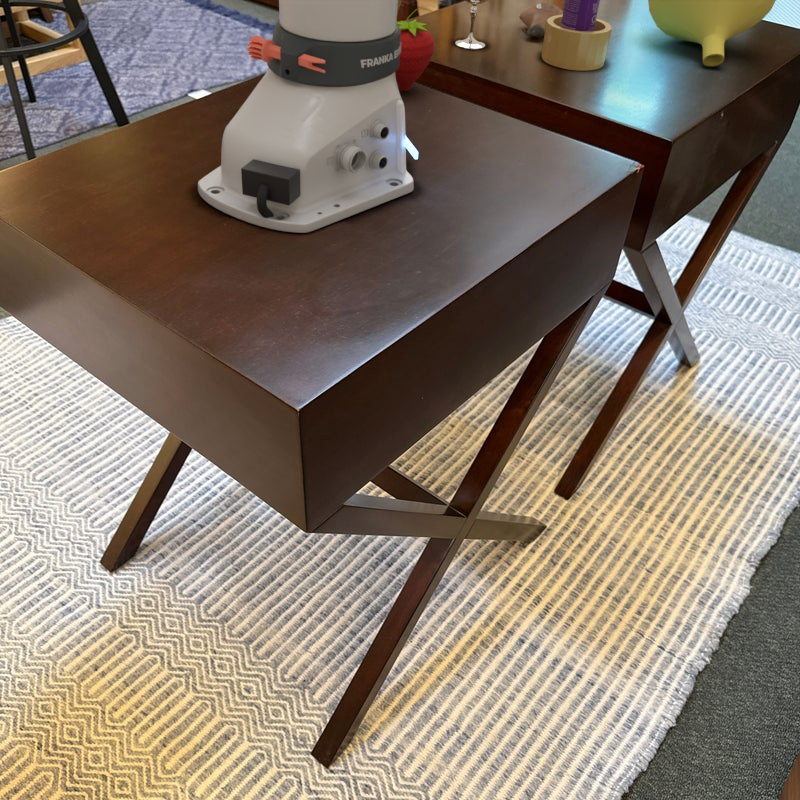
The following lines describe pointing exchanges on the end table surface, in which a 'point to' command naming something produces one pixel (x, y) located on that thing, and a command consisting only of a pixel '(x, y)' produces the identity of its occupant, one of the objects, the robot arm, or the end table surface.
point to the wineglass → (470, 41)
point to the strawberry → (413, 52)
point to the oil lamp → (538, 18)
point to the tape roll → (575, 45)
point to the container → (580, 15)
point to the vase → (708, 21)
